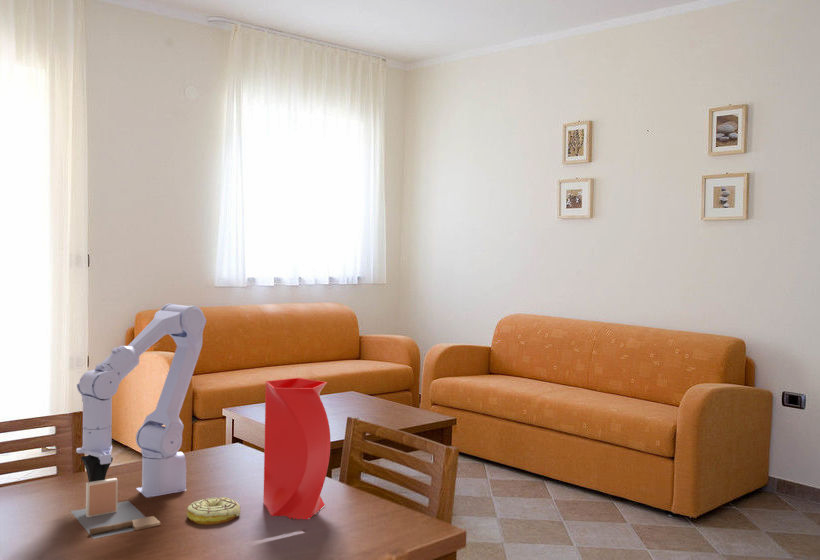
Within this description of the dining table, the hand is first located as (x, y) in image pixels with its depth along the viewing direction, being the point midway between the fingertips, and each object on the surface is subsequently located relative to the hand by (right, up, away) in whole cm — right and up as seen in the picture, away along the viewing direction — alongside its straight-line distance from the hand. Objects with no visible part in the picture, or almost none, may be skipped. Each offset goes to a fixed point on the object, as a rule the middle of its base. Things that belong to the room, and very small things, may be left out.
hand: (96, 489), depth 159 cm
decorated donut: (+26, -6, -2) cm, 27 cm away
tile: (+2, -4, -3) cm, 6 cm away
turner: (+10, -5, -11) cm, 15 cm away
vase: (+41, -6, +4) cm, 42 cm away
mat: (+6, -5, -6) cm, 9 cm away
